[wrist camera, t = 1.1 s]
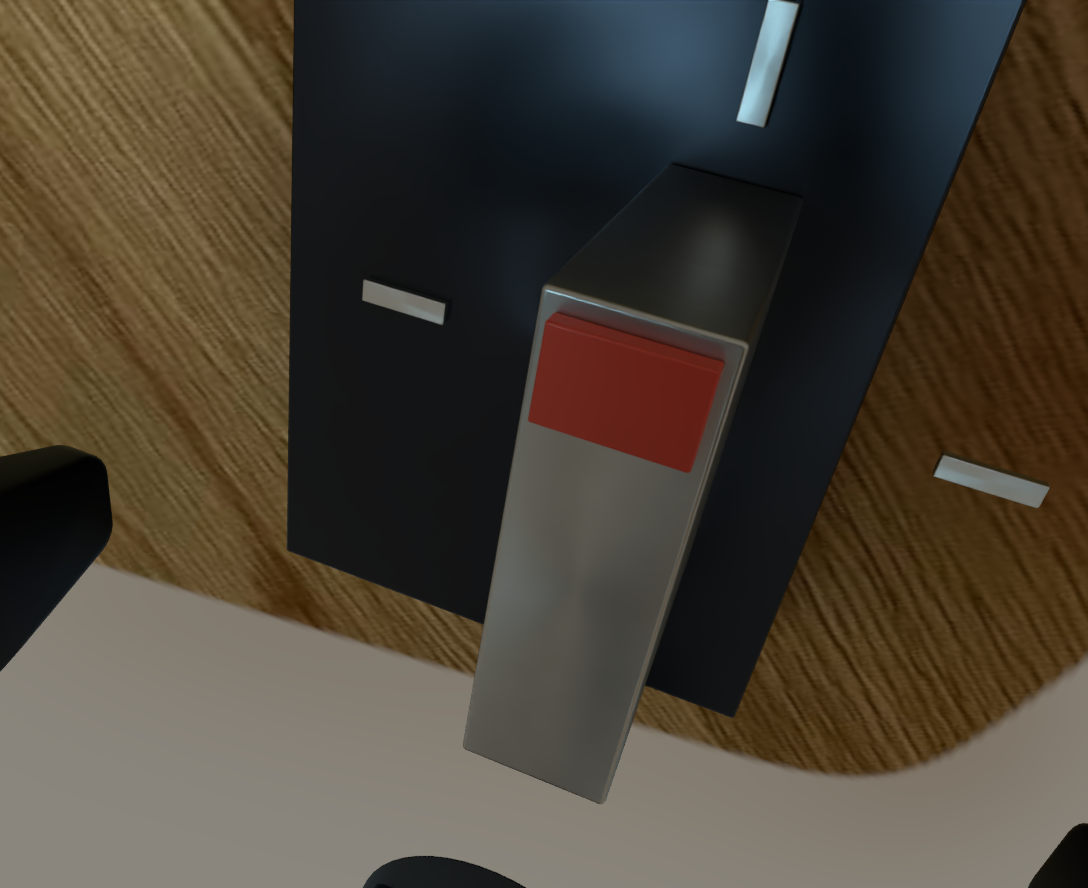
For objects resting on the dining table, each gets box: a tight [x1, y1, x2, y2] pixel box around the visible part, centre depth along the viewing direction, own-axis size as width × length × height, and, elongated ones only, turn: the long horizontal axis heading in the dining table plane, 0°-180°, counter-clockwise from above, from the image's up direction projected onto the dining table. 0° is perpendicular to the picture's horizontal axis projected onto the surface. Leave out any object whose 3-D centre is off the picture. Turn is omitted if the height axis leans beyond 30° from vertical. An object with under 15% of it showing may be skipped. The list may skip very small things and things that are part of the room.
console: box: [287, 0, 1050, 718], centre depth 14 cm, size 12×12×3 cm
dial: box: [463, 164, 803, 804], centre depth 11 cm, size 6×2×5 cm, turn 170°
